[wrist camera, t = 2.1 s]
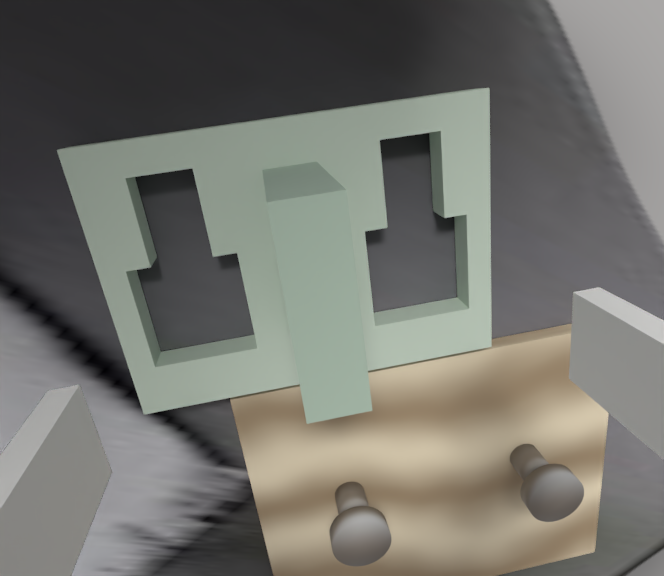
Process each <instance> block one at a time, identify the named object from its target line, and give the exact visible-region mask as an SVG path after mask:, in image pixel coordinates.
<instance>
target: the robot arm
mask: <svg viewBox="0 0 664 576" xmlns="http://www.w3.org/2000/svg"><path fill="white" fill-rule="evenodd" d="M569 379H570V380H571V381H572V382H573V383H574V384H576V385H577V386H578V387H579V388H580V389H581V390H583V391H584V392H585V393H586V394H587V395H588V396H590V397H591V398H592V399H593V400H594V401H595V402H597V403H598V404H599V405H600V406H601V407H602V408H604V409H605V410H606V411H607V412H608V413H609V414H611V415H612V416H613V417H614V418H615V419H616V420H618V421H619V422H620V423H621V424H622V425H623V426H625V427H626V428H627V429H628V430H629V431H630V432H632V433H633V434H634V435H635V436H636V437H637V438H639V439H640V440H641V441H642V442H643V443H644V444H646V445H647V446H648V447H649V448H650V449H651V450H653V451H654V452H655V453H656V454H657V455H658V456H660V457H661V458H662V459H663V460H664V320H662V319H660V318H658V317H656V316H654V315H652V314H650V313H648V312H646V311H644V310H642V309H640V308H638V307H636V306H635V305H633V304H631V303H629V302H627V301H625V300H623V299H621V298H619V297H617V296H615V295H613V294H611V293H609V292H607V291H606V290H604V289H602V288H600V287H598V288H593V289H588V290H582V291H577V292H573V307H572V327H571V346H570V366H569ZM111 473H112V470H111V468H110V465H109V462H108V460H107V457H106V454H105V451H104V449H103V446H102V443H101V441H100V438H99V435H98V433H97V430H96V427H95V424H94V422H93V419H92V416H91V414H90V411H89V408H88V406H87V403H86V400H85V397H84V395H83V392H82V389H81V387H80V384H79V385H74V386H69V387H63V388H58V389H53V390H48V391H47V392H46V394H45V395H44V396H43V398H42V399H41V400H40V402H39V403H38V404H37V406H36V407H35V409H34V410H33V411H32V413H31V414H30V415H29V417H28V418H27V419H26V421H25V422H24V424H23V425H22V426H21V428H20V429H19V430H18V432H17V433H16V434H15V436H14V437H13V438H12V440H11V441H10V443H9V444H8V445H7V447H6V448H5V449H4V451H3V452H2V453H1V455H0V576H71V575H72V573H73V570H74V567H75V565H76V562H77V560H78V557H79V555H80V552H81V550H82V547H83V545H84V542H85V540H86V537H87V534H88V532H89V529H90V527H91V524H92V522H93V519H94V517H95V514H96V512H97V509H98V506H99V504H100V501H101V499H102V496H103V494H104V491H105V489H106V486H107V484H108V481H109V478H110V476H111Z"/></svg>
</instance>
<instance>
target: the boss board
mask: <svg viewBox="0 0 664 576" xmlns="http://www.w3.org/2000/svg"><path fill="white" fill-rule="evenodd" d="M571 327H572V324H567V325H562V326H557V327H552V328H546V329H541V330H536V331H531V332H526V333H521V334H515V335H510V336H505V337H500V338H495V339H492V347H488V348H483V349H478V350H473V351H468V352H463V353H458V354H452V355H447V356H442V357H437V358H432V359H427V360H422V361H416V362H411V363H406V364H401V365H396V366H391V367H386V368H381V369H375V370H370V371H368V377H369V385H370V394H371V402H372V411H368V412H363V413H358V414H354V415H349V416H344V417H339V418H334V419H329V420H324V421H319V422H314V423H309V424H307V422H306V417H305V411H304V406H303V400H302V395H301V389H300V384H298V385H293V386H288V387H283V388H278V389H273V390H268V391H263V392H257V393H252V394H247V395H242V396H237V397H232V398H230V402H231V406H232V410H233V414H234V418H235V422H236V426H237V430H238V434H239V438H240V442H241V446H242V450H243V454H244V458H245V462H246V466H247V470H248V475H249V479H250V483H251V487H252V491H253V495H254V499H255V503H256V507H257V511H258V515H259V519H260V523H261V527H262V531H263V535H264V539H265V543H266V547H267V551H268V555H269V559H270V564H271V568H272V572H273V576H497V575H501V574H505V573H509V572H513V571H517V570H522V569H526V568H530V567H534V566H538V565H542V564H546V563H551V562H555V561H559V560H563V559H567V558H571V557H576V556H580V555H584V554H588V553H592V552H595V544H596V534H597V524H598V514H599V504H600V494H601V484H602V474H603V464H604V454H605V444H606V434H607V424H608V414H609V413H608V412H607V411H606V410H605V409H604V408H602V407H601V406H600V405H599V404H598V403H597V402H595V401H594V400H593V399H592V398H591V397H590V396H588V395H587V394H586V393H585V392H584V391H583V390H581V389H580V388H579V387H578V386H577V385H576V384H574V383H573V382H572V381H571V380H570V379H569V366H570V346H571Z"/></svg>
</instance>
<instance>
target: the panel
mask: <svg viewBox="0 0 664 576" xmlns="http://www.w3.org/2000/svg"><path fill="white" fill-rule="evenodd" d="M423 133H429V141H430V160H431V180H432V199H433V211H434V212H435V213H437V214H439V215H440V216H442V217H444V218H448V217H454V223H455V251H456V278H457V297H456V298H451V299H446V300H440V301H435V302H429V303H424V304H418V305H413V306H408V307H402V308H397V309H391V310H386V311H380V312H375V313H374V312H373V303H372V294H371V284H370V275H369V266H368V256H367V247H366V238H365V231H371V230H377V229H383V228H388V227H387V216H386V204H385V193H384V182H383V171H382V159H381V148H380V140H384V139H390V138H397V137H404V136H410V135H417V134H423ZM57 153H58V156H59V159H60V162H61V165H62V168H63V171H64V174H65V177H66V180H67V183H68V186H69V189H70V192H71V195H72V198H73V201H74V204H75V207H76V210H77V213H78V216H79V219H80V222H81V225H82V228H83V231H84V234H85V237H86V240H87V243H88V246H89V249H90V252H91V255H92V259H93V262H94V265H95V268H96V271H97V274H98V277H99V280H100V283H101V286H102V289H103V292H104V295H105V298H106V301H107V304H108V307H109V310H110V313H111V316H112V319H113V322H114V325H115V328H116V331H117V334H118V337H119V340H120V343H121V346H122V349H123V352H124V355H125V358H126V361H127V364H128V368H129V371H130V374H131V377H132V380H133V383H134V386H135V389H136V392H137V395H138V398H139V401H140V404H141V407H142V410H143V413H144V415H145V414H150V413H155V412H160V411H165V410H170V409H175V408H181V407H186V406H191V405H196V404H201V403H206V402H211V401H216V400H222V399H227V398H232V397H237V396H242V395H247V394H252V393H257V392H263V391H268V390H273V389H278V388H283V387H288V386H293V385H298V384H300V389H301V395H302V400H303V406H304V411H305V417H306V422H307V424H309V423H314V422H319V421H324V420H329V419H334V418H339V417H344V416H349V415H354V414H358V413H363V412H368V411H372V402H371V394H370V385H369V377H368V371H370V370H375V369H381V368H386V367H391V366H396V365H401V364H406V363H411V362H416V361H422V360H427V359H432V358H437V357H442V356H447V355H452V354H458V353H463V352H468V351H473V350H478V349H483V348H488V347H492V339H491V210H490V88H477V89H468V90H461V91H454V92H447V93H441V94H434V95H427V96H420V97H413V98H406V99H399V100H392V101H385V102H378V103H371V104H364V105H357V106H350V107H343V108H336V109H329V110H322V111H315V112H308V113H301V114H294V115H287V116H280V117H273V118H266V119H259V120H252V121H245V122H238V123H231V124H224V125H217V126H210V127H203V128H196V129H189V130H182V131H175V132H168V133H161V134H154V135H147V136H140V137H133V138H127V139H120V140H113V141H106V142H99V143H92V144H85V145H78V146H71V147H66V148H62V149H58V150H57ZM191 168H192V169H193V173H194V177H195V182H196V186H197V190H198V195H199V199H200V203H201V207H202V212H203V216H204V220H205V225H206V229H207V233H208V238H209V242H210V246H211V250H212V255H213V257H216V256H222V255H228V254H234V253H237V255H238V259H239V264H240V269H241V274H242V278H243V283H244V288H245V292H246V297H247V302H248V307H249V311H250V316H251V321H252V325H253V330H254V335H250V336H244V337H239V338H233V339H228V340H223V341H217V342H212V343H206V344H201V345H195V346H190V347H185V348H179V349H174V350H168V351H163V352H161V351H160V347H159V344H158V340H157V337H156V334H155V330H154V327H153V324H152V320H151V317H150V314H149V310H148V307H147V303H146V300H145V297H144V293H143V290H142V287H141V283H140V280H139V277H138V273H137V270H139V269H145V268H151V266H152V265H153V263H154V261H155V260H156V258H157V255H156V251H155V248H154V244H153V240H152V237H151V233H150V230H149V226H148V222H147V219H146V215H145V212H144V208H143V204H142V201H141V197H140V194H139V190H138V186H137V183H136V179H135V177H138V176H145V175H151V174H158V173H165V172H171V171H178V170H184V169H191Z"/></svg>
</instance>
